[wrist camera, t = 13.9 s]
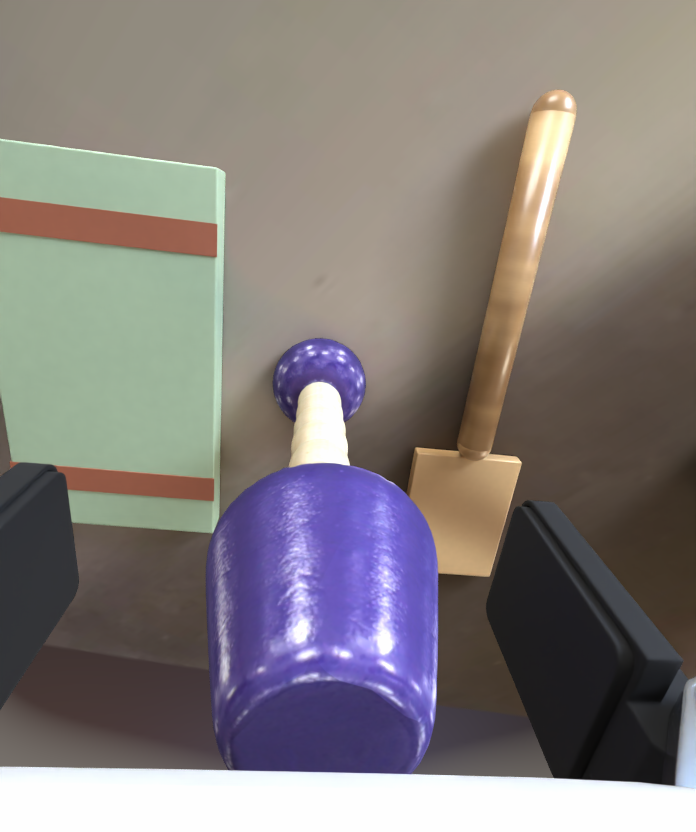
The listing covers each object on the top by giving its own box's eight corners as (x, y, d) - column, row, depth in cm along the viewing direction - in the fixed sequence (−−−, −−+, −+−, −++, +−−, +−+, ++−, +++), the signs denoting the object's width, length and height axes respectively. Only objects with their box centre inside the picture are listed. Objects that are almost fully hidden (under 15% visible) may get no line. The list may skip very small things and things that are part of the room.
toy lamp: (296, 311, 20) (193, 576, 5) (393, 350, 21) (564, 683, 6) (260, 407, 22) (98, 832, 7) (352, 440, 23) (399, 889, 7)
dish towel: (37, 503, 24) (19, 520, 22) (-18, 139, 18) (-47, 132, 16) (219, 517, 24) (213, 534, 23) (226, 171, 18) (218, 167, 17)
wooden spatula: (485, 568, 26) (495, 589, 25) (393, 561, 26) (397, 582, 24) (614, 105, 18) (640, 95, 16) (482, 86, 18) (496, 73, 16)
